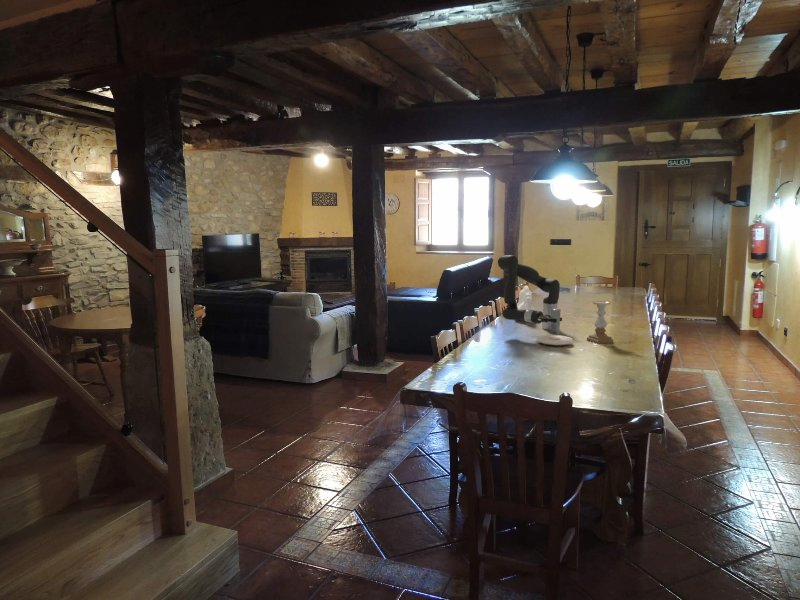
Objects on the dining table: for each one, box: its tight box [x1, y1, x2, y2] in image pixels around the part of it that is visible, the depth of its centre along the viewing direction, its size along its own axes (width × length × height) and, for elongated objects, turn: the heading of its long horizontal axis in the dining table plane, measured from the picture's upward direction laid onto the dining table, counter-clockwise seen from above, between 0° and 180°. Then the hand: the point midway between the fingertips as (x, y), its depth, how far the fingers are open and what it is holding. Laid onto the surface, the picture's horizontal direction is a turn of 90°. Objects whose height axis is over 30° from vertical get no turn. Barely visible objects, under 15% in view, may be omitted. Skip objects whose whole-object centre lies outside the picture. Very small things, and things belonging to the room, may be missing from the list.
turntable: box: [537, 334, 573, 346], centre depth 329 cm, size 20×20×2 cm
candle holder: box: [586, 300, 614, 345], centre depth 333 cm, size 11×11×24 cm
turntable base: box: [543, 343, 568, 347], centre depth 330 cm, size 14×14×2 cm
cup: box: [549, 308, 561, 335], centre depth 328 cm, size 6×6×14 cm
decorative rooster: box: [517, 285, 537, 311], centre depth 399 cm, size 25×16×25 cm, turn 164°
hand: (559, 320), depth 326 cm, fingers closed on cup, 5 cm apart
